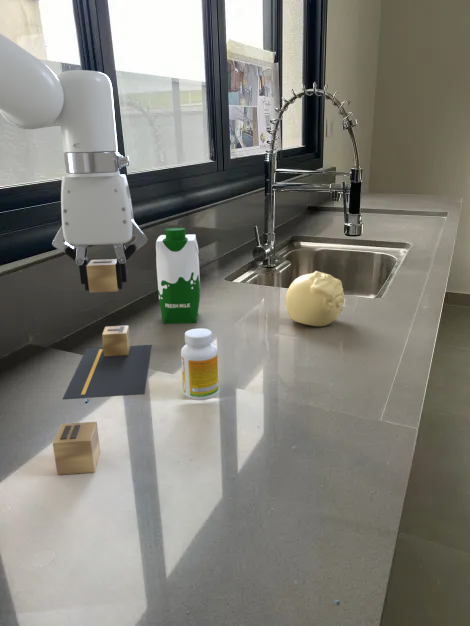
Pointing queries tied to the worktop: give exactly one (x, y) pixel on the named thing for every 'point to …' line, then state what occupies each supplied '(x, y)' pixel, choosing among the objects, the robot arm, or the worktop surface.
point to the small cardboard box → (116, 340)
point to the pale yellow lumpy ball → (315, 299)
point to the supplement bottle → (199, 365)
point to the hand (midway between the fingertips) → (105, 286)
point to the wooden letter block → (102, 275)
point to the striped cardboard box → (76, 448)
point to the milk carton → (178, 276)
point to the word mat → (110, 374)
